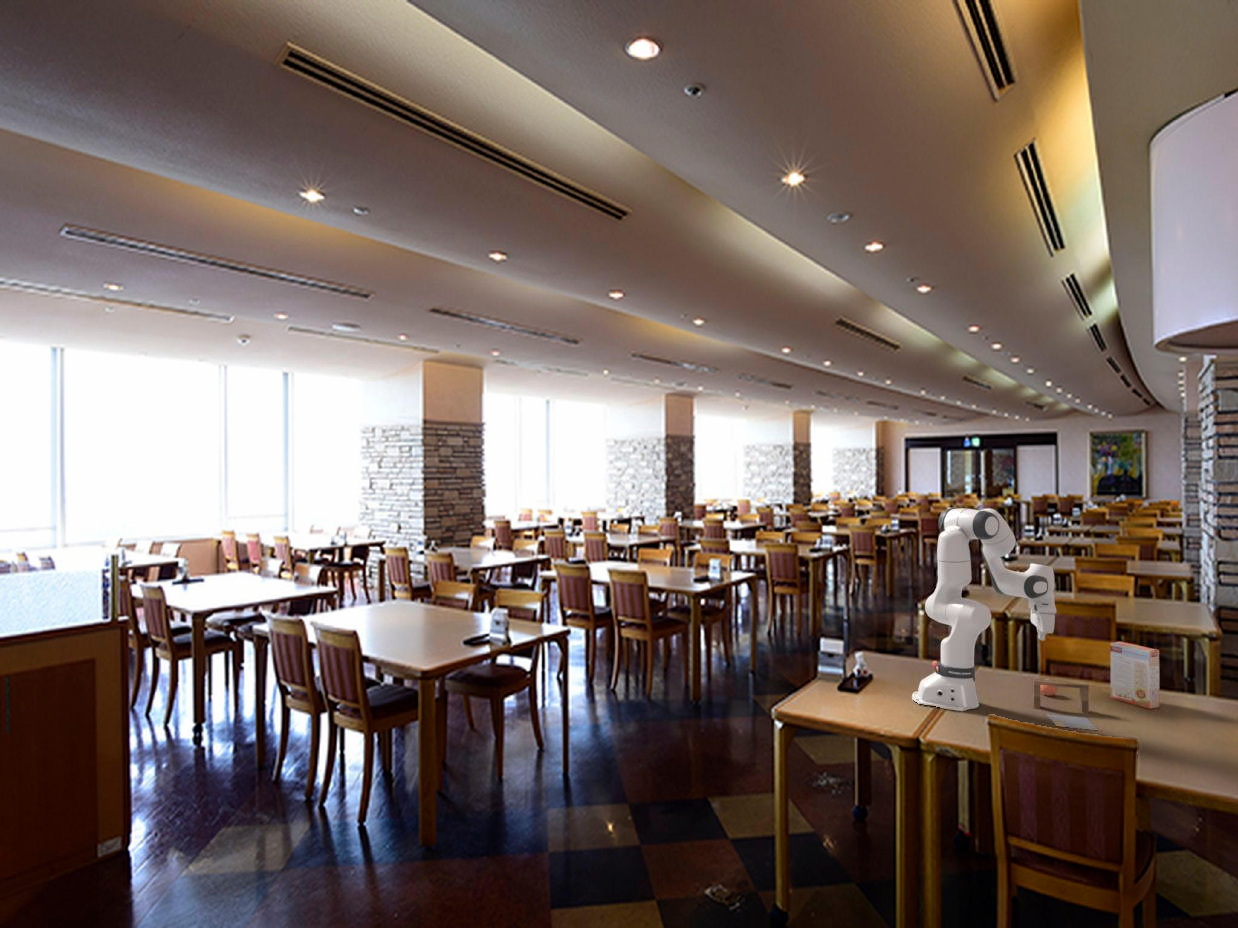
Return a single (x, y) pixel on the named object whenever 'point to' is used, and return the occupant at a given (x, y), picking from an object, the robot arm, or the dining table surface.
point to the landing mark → (1072, 721)
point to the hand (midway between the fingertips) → (1041, 639)
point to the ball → (1048, 689)
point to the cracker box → (1135, 674)
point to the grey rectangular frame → (1082, 686)
